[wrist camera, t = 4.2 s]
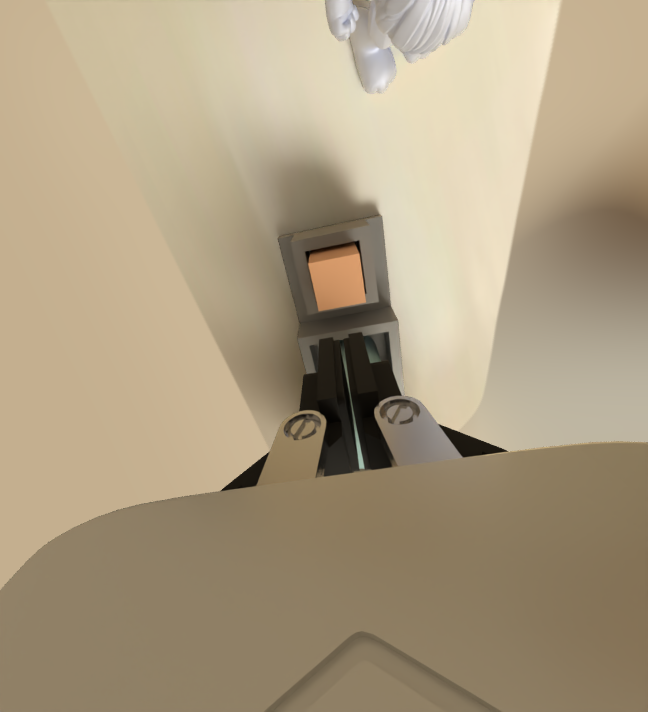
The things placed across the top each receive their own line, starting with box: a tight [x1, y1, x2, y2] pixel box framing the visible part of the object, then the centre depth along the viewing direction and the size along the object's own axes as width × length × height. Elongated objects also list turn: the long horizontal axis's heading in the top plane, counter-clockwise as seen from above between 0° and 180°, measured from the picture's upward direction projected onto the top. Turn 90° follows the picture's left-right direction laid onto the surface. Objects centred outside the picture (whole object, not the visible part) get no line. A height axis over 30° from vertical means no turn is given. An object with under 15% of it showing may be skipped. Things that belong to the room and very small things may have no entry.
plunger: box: [308, 241, 366, 311], centre depth 22 cm, size 3×3×5 cm
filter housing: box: [278, 215, 405, 396], centre depth 26 cm, size 15×8×4 cm, turn 11°
